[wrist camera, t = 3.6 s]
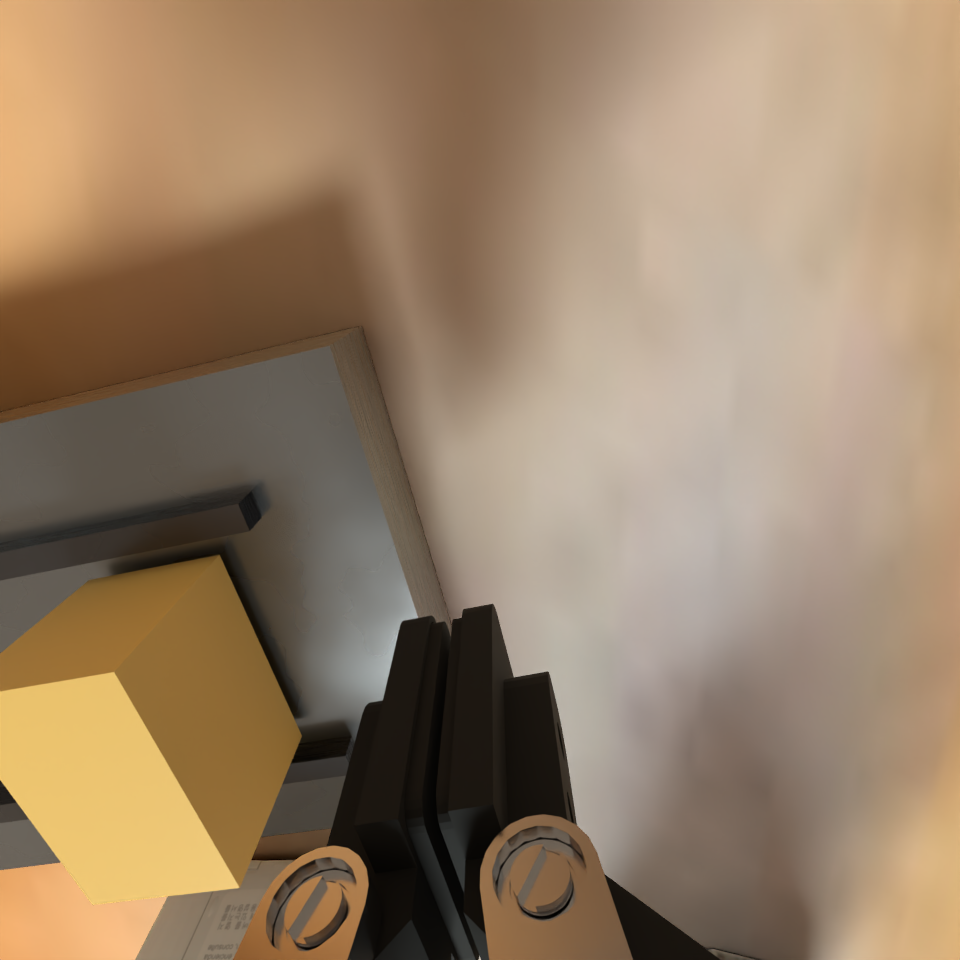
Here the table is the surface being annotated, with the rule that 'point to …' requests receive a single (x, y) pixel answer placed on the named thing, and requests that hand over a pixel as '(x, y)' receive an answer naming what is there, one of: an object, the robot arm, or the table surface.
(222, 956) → the photo printer
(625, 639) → the table surface
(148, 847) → the block
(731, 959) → the lantern
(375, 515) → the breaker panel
